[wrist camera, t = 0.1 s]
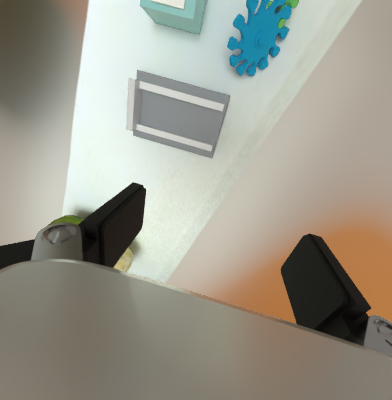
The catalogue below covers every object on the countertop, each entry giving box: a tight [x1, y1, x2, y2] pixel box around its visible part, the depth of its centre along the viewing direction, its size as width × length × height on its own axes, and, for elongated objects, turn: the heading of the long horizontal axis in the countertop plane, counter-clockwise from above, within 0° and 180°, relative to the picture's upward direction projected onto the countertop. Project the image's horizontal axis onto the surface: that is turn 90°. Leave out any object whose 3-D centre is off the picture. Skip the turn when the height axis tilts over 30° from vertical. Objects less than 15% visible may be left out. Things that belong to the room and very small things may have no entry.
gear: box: [227, 0, 299, 76], centre depth 27 cm, size 11×6×10 cm
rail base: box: [127, 70, 230, 158], centre depth 35 cm, size 12×18×4 cm, turn 76°
